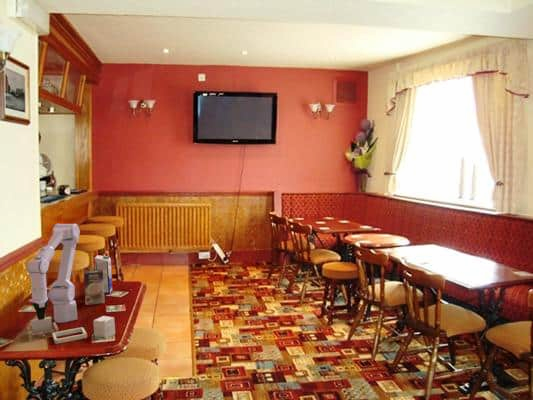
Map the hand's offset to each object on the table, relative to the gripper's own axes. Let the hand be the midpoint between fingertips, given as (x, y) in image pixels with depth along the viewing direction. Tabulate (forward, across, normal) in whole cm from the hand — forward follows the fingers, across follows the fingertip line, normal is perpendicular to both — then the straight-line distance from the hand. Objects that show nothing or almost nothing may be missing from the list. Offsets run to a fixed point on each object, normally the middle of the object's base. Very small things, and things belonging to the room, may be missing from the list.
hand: (41, 319), depth 211 cm
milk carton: (+6, -48, +36) cm, 61 cm away
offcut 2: (+6, +5, +2) cm, 8 cm away
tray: (+6, +12, +9) cm, 16 cm away
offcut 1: (+6, +5, -2) cm, 8 cm away
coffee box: (+6, -33, +28) cm, 44 cm away
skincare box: (+7, +16, +22) cm, 28 cm away
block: (+6, 0, 0) cm, 6 cm away
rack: (+6, +2, 0) cm, 7 cm away
